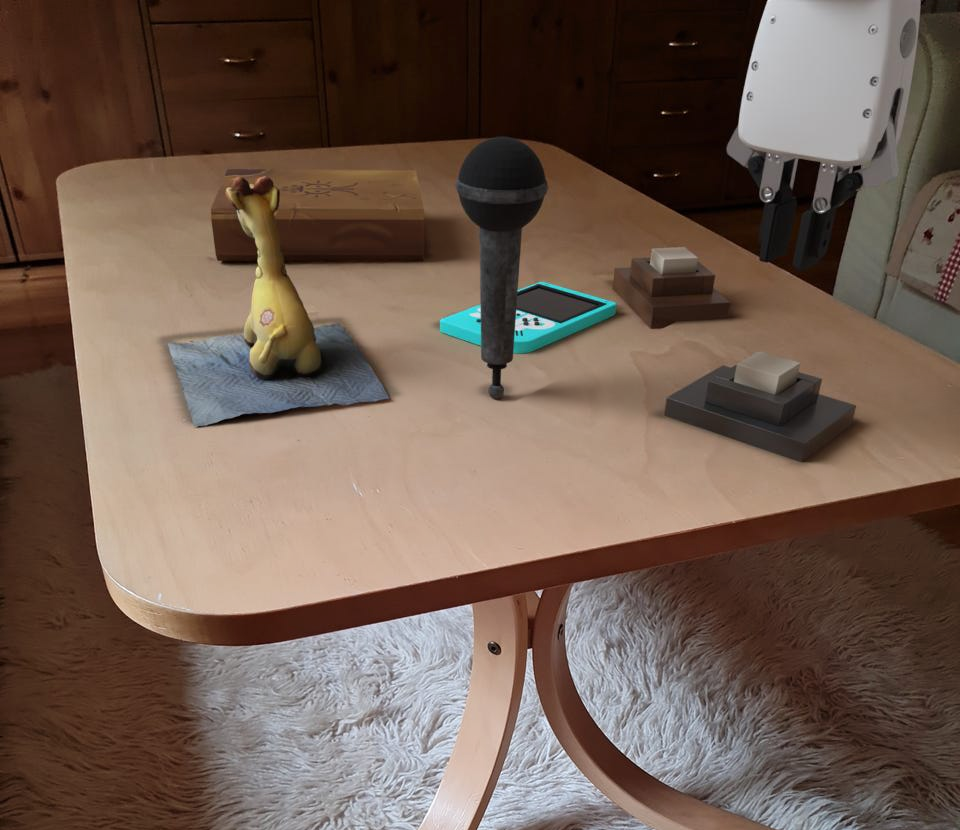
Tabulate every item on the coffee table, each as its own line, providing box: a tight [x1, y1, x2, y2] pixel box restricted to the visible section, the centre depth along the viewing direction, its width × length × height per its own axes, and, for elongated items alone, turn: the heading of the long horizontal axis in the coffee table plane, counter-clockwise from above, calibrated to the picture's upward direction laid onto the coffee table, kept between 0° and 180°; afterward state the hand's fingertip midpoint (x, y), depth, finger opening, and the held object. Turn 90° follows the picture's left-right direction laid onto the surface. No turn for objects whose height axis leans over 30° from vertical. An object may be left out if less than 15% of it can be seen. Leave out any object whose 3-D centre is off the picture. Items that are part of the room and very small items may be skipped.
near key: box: [734, 350, 801, 395], centre depth 79 cm, size 4×4×2 cm
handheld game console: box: [439, 281, 617, 354], centre depth 99 cm, size 10×16×1 cm, turn 139°
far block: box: [612, 256, 731, 330], centre depth 102 cm, size 12×8×4 cm, turn 12°
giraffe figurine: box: [166, 176, 390, 427], centre depth 83 cm, size 16×18×16 cm
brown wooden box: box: [210, 168, 425, 262], centre depth 118 cm, size 23×19×6 cm
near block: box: [663, 363, 857, 463], centre depth 80 cm, size 12×9×4 cm
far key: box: [650, 246, 699, 274], centre depth 101 cm, size 4×4×2 cm
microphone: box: [455, 136, 549, 400], centre depth 79 cm, size 7×7×20 cm
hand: (789, 260), depth 73 cm, fingers closed
